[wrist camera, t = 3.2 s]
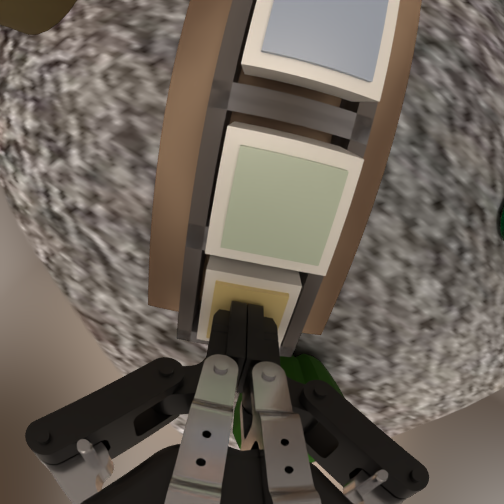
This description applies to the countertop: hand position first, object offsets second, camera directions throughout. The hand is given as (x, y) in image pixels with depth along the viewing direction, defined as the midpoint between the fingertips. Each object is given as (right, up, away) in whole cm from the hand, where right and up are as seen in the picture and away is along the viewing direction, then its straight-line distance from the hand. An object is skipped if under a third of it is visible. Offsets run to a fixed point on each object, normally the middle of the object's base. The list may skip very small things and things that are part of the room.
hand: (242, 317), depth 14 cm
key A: (+1, +6, -2) cm, 6 cm away
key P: (0, +1, +3) cm, 3 cm away
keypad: (+2, +11, +1) cm, 11 cm away
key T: (+3, +12, -5) cm, 13 cm away
